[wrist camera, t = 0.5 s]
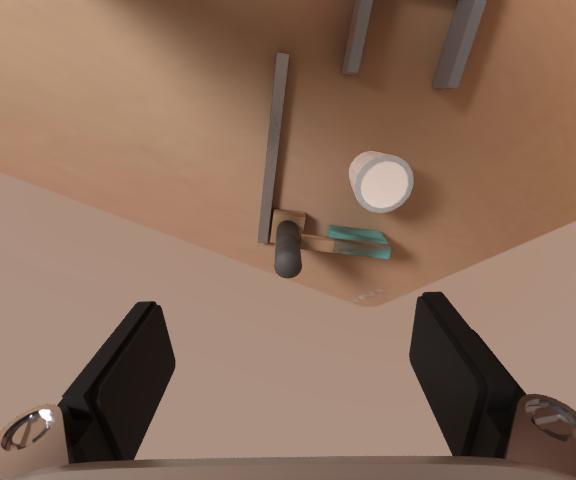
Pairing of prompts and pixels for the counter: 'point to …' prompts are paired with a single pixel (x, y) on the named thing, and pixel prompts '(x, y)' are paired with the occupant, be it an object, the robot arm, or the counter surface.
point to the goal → (453, 51)
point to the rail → (273, 144)
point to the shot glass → (380, 181)
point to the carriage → (319, 242)
